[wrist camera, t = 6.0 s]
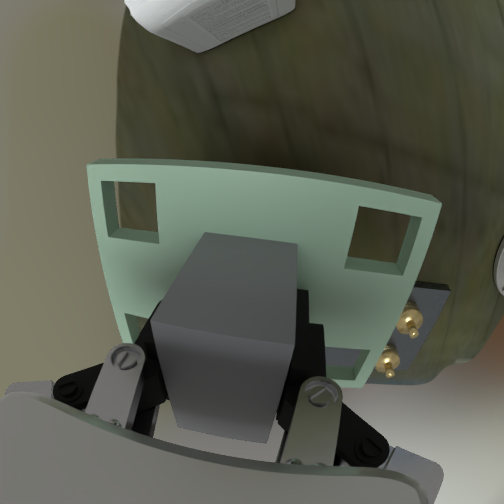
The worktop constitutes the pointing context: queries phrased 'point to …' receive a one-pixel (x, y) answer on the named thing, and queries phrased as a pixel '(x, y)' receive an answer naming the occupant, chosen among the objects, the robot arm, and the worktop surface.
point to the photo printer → (205, 19)
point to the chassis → (402, 331)
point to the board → (261, 213)
